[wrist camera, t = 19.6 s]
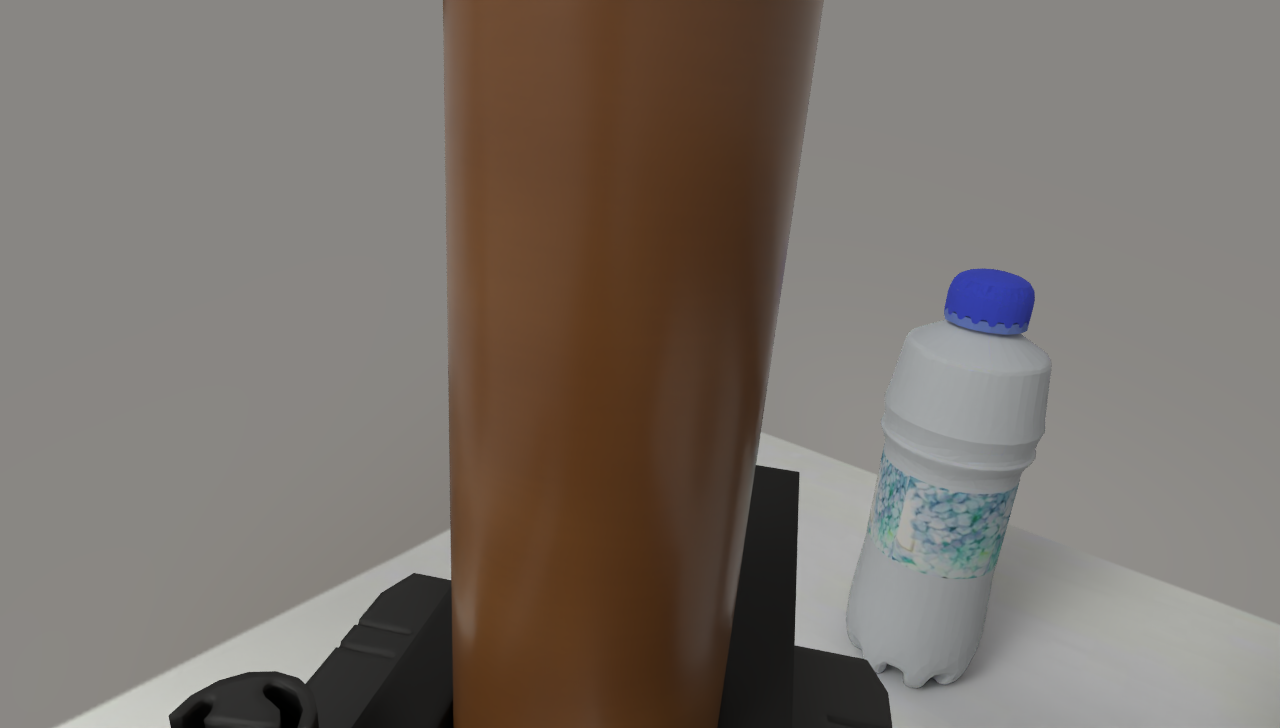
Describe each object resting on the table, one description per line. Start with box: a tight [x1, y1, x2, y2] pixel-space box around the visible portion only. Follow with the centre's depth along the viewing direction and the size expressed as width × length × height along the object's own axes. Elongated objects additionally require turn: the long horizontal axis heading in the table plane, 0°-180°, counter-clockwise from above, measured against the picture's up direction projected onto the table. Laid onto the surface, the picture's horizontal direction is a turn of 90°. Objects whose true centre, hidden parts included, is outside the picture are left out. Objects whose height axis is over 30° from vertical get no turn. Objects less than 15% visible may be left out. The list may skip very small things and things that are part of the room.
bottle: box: [846, 269, 1051, 688], centre depth 36 cm, size 7×7×20 cm
